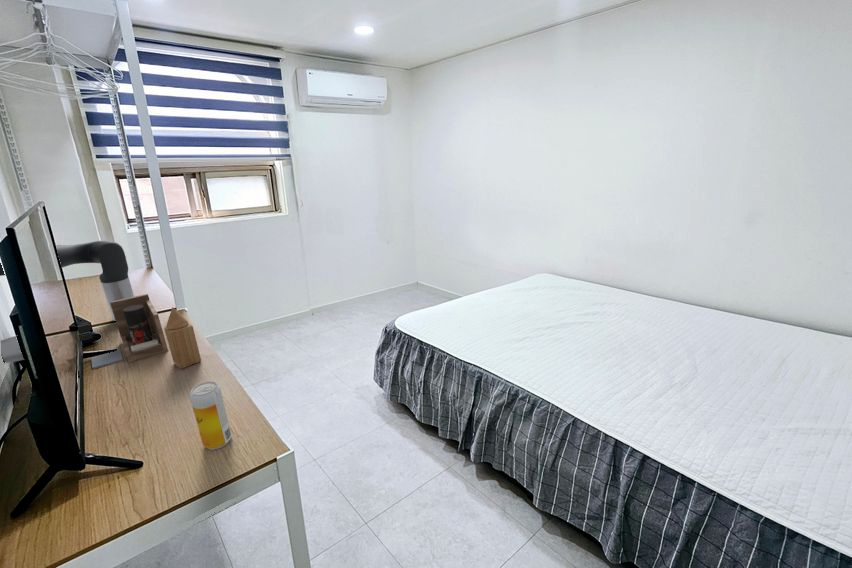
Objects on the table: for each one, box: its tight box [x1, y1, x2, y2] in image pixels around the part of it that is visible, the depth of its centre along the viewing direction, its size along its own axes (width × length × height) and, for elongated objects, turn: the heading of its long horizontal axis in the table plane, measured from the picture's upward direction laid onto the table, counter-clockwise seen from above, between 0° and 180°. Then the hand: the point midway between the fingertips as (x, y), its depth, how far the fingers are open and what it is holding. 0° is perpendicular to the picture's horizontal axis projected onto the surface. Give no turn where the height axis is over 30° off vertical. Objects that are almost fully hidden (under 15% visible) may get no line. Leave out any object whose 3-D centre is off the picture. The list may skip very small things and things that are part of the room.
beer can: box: [189, 380, 232, 451], centre depth 90 cm, size 6×6×15 cm
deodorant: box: [123, 305, 154, 345], centre depth 139 cm, size 6×6×15 cm
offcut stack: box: [130, 338, 160, 353], centre depth 137 cm, size 4×8×3 cm, turn 131°
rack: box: [110, 293, 169, 363], centre depth 139 cm, size 20×11×16 cm, turn 41°
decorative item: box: [164, 306, 202, 370], centre depth 126 cm, size 7×7×20 cm
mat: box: [90, 349, 124, 370], centre depth 133 cm, size 9×8×1 cm
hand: (91, 330), depth 130 cm, fingers open, 8 cm apart
